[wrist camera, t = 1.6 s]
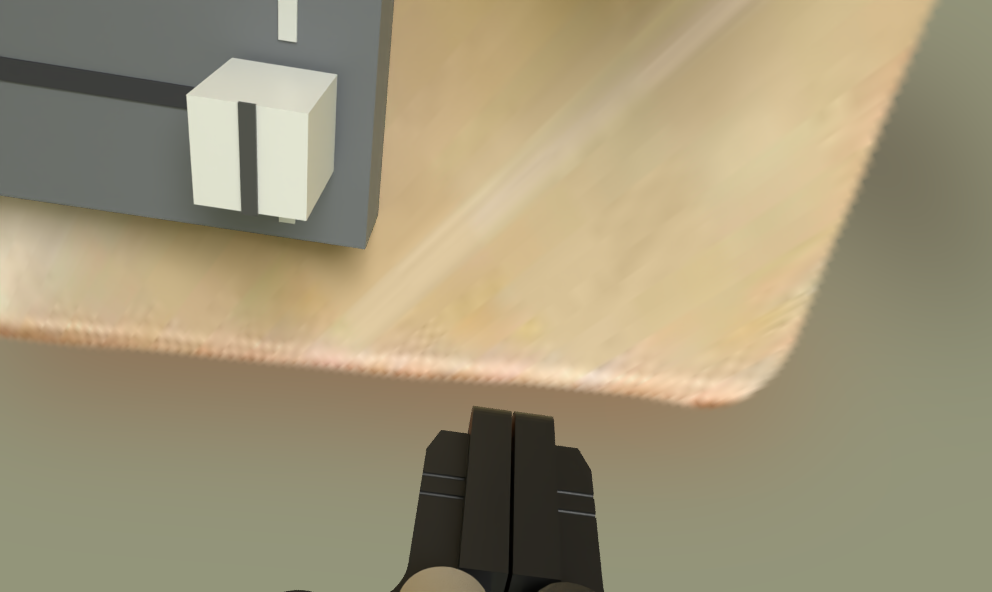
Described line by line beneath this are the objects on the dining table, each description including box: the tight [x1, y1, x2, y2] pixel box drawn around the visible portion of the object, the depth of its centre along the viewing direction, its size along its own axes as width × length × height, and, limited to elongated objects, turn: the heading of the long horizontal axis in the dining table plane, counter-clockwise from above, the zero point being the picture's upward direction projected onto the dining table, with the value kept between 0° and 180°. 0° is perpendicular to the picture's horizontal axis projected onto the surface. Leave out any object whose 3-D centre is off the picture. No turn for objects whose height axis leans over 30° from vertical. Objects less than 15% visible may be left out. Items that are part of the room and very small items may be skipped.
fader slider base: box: [0, 0, 394, 249], centre depth 27 cm, size 10×20×3 cm, turn 81°
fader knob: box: [186, 58, 337, 221], centre depth 24 cm, size 4×4×4 cm
